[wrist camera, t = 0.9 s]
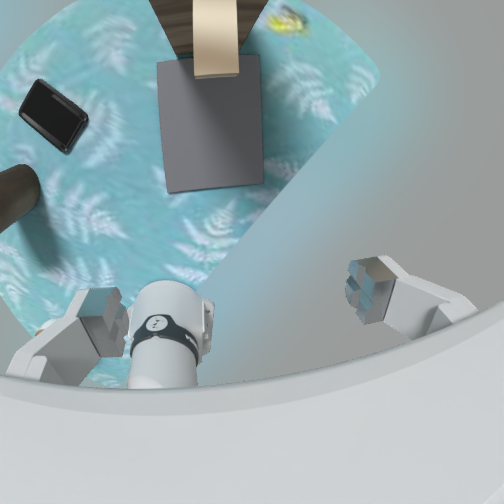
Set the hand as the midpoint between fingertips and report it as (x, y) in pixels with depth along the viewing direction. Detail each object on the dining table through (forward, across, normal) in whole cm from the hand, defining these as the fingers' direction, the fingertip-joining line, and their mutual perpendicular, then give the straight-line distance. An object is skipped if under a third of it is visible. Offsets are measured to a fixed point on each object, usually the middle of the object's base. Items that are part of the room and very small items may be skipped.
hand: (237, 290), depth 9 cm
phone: (+38, -28, +12) cm, 49 cm away
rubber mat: (+37, 0, +5) cm, 38 cm away
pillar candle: (+38, -38, 0) cm, 53 cm away
